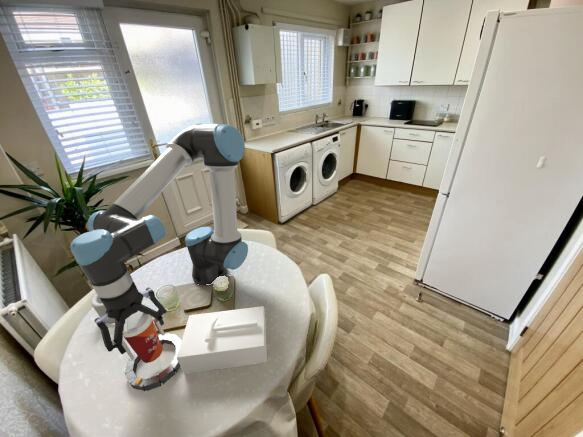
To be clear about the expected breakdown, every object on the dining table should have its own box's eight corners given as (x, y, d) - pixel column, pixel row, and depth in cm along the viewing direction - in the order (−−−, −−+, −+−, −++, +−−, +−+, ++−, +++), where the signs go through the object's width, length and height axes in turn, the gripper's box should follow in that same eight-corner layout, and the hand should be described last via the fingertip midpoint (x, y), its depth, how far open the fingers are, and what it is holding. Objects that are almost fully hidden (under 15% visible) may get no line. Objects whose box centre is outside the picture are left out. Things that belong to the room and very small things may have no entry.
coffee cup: (165, 360, 71) (148, 327, 64) (134, 371, 68) (113, 338, 61) (167, 336, 78) (152, 304, 70) (139, 345, 75) (120, 313, 68)
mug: (110, 329, 87) (98, 310, 82) (97, 317, 92) (85, 298, 87) (146, 303, 97) (137, 285, 92) (132, 293, 102) (123, 275, 97)
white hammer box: (195, 331, 85) (187, 310, 80) (266, 322, 87) (262, 301, 81) (184, 374, 72) (173, 352, 67) (267, 362, 74) (263, 340, 69)
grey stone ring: (185, 332, 84) (183, 326, 83) (183, 377, 71) (180, 372, 70) (134, 348, 80) (131, 342, 79) (122, 399, 67) (118, 394, 65)
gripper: (151, 260, 69) (174, 314, 80) (59, 309, 55) (102, 365, 66) (164, 270, 65) (186, 325, 76) (68, 325, 51) (112, 383, 62)
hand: (147, 344), depth 71 cm, fingers closed on coffee cup, 8 cm apart
